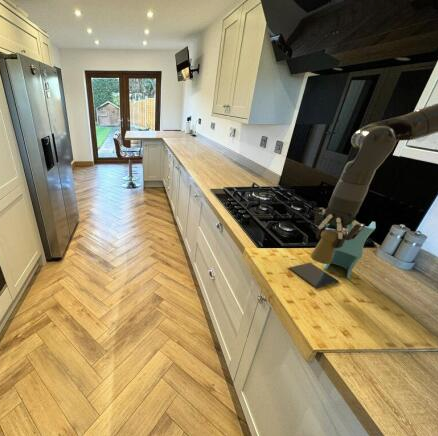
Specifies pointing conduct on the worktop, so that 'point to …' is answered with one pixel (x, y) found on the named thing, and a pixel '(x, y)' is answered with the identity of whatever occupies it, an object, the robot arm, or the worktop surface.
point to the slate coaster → (313, 275)
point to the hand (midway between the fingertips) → (327, 242)
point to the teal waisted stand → (351, 249)
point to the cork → (325, 247)
